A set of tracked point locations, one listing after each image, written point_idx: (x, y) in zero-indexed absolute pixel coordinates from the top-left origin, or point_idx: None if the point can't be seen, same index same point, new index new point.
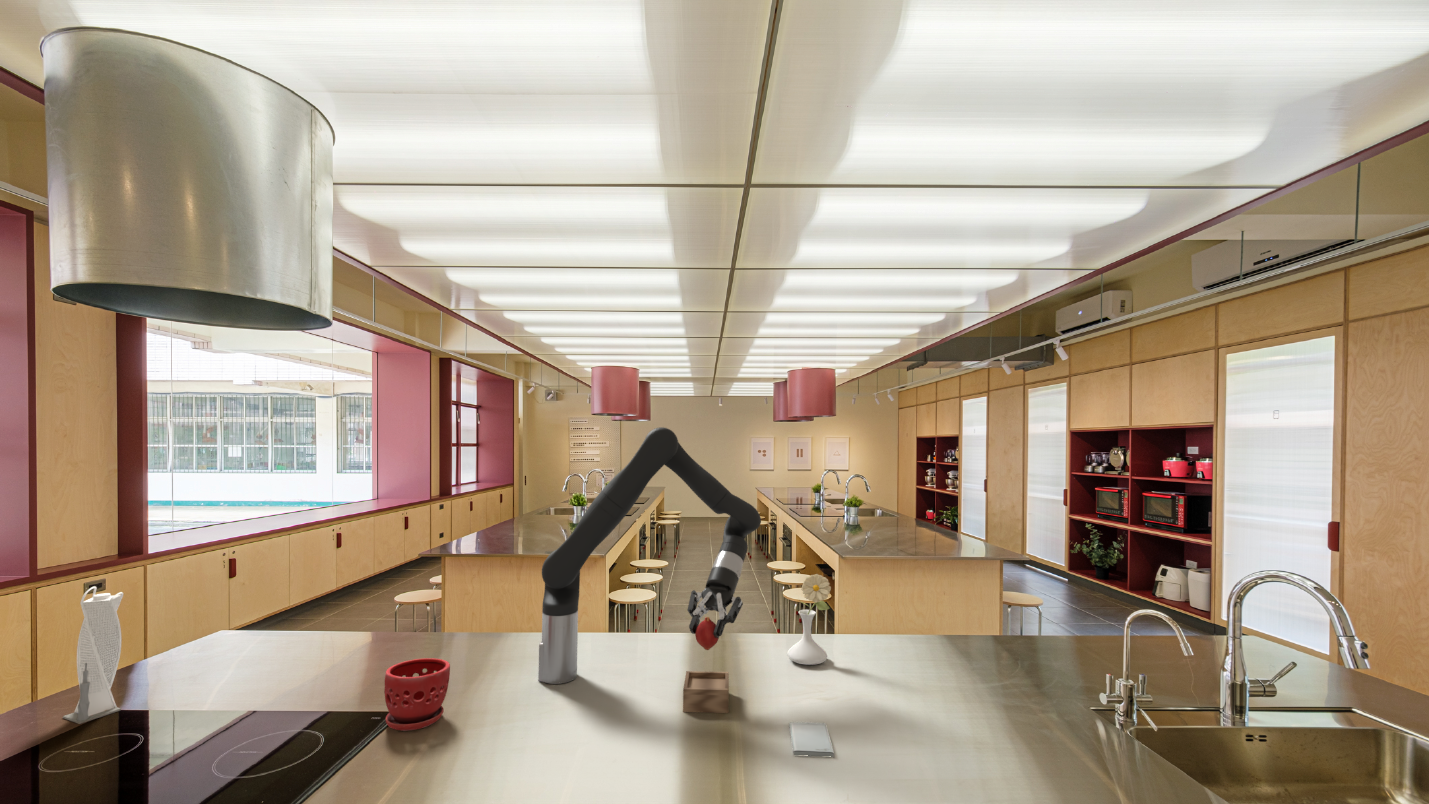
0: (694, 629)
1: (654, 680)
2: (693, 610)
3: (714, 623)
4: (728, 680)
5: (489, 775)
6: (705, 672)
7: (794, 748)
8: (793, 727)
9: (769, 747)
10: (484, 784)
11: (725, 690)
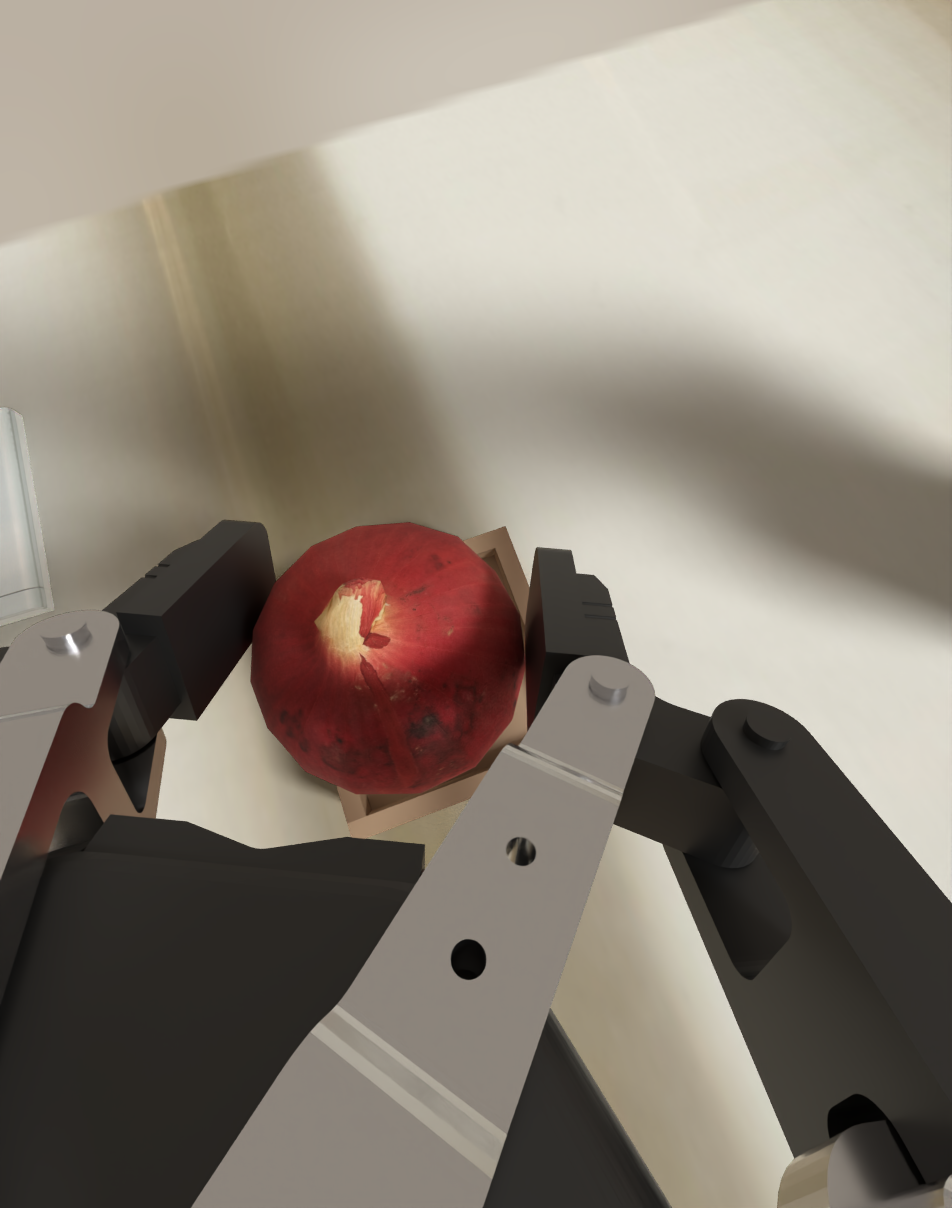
0: (531, 601)
1: None
2: (686, 762)
3: (277, 686)
4: None
5: (827, 45)
6: (480, 777)
7: (3, 419)
8: (17, 561)
9: (109, 434)
10: (805, 16)
11: None
